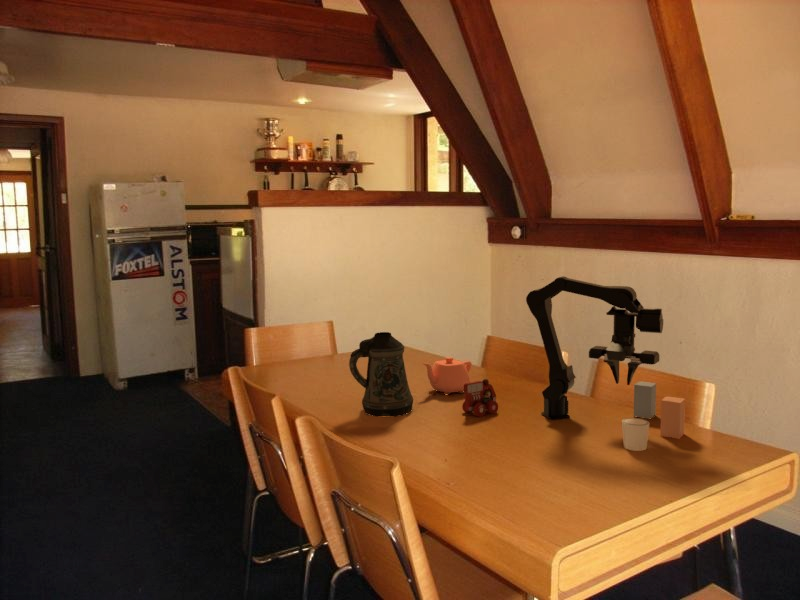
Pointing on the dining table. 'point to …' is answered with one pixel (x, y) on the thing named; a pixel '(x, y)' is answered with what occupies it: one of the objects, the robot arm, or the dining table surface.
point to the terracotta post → (672, 417)
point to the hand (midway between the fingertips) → (622, 384)
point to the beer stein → (383, 376)
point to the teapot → (448, 375)
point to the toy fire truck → (479, 398)
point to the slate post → (644, 399)
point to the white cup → (635, 433)
